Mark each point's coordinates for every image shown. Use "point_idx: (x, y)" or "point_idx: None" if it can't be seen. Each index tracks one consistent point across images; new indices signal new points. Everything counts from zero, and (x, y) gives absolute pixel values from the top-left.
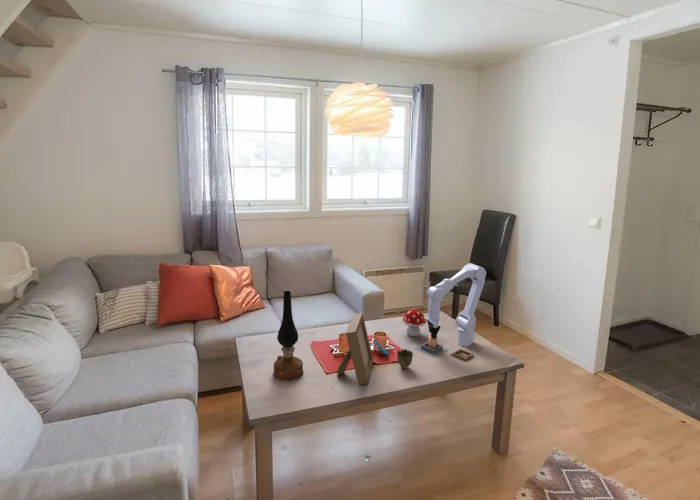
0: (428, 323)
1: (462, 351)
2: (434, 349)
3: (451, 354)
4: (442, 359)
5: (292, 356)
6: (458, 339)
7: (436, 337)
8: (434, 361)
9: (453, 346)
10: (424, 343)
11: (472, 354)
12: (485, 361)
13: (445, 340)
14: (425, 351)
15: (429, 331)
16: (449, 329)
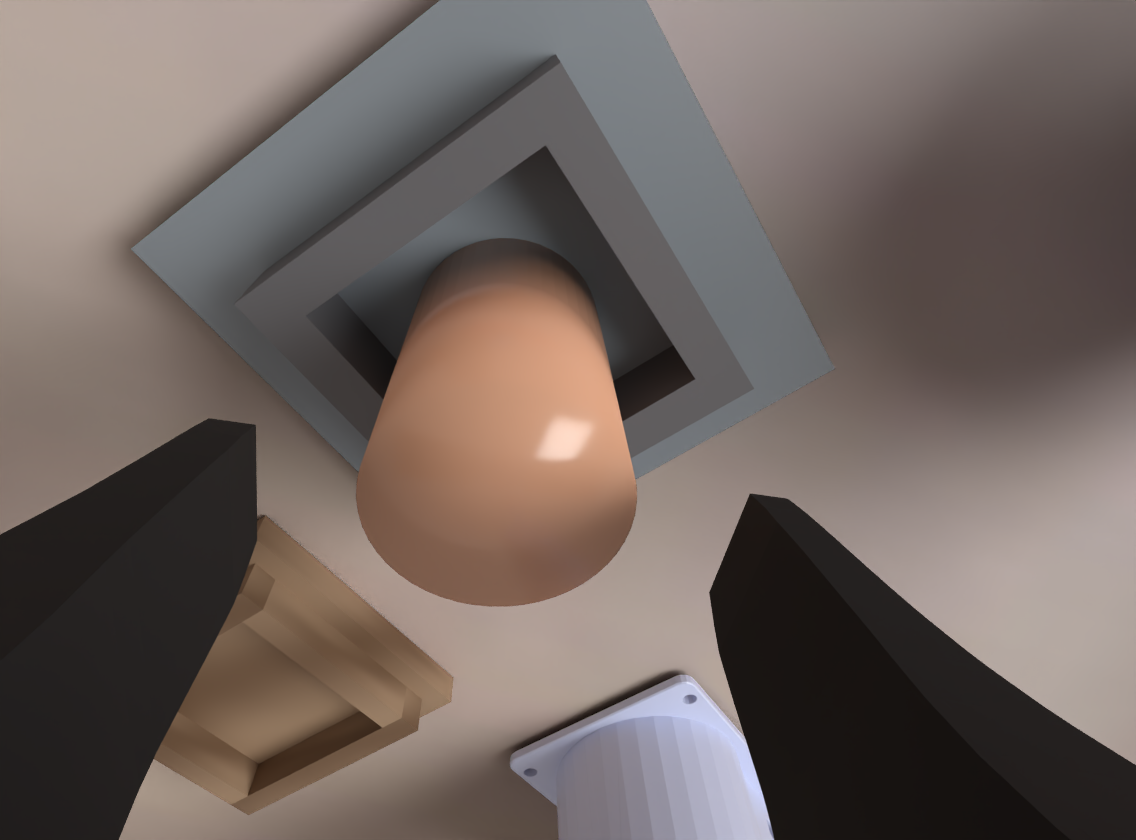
0: (952, 757)
1: (360, 725)
2: (295, 344)
3: (294, 571)
4: (166, 387)
5: None
6: (642, 803)
7: (421, 570)
8: (43, 208)
9: (630, 657)
10: (638, 209)
11: (230, 803)
12: (188, 830)
13: None
14: (396, 136)
15: (758, 509)
16: (1125, 743)
